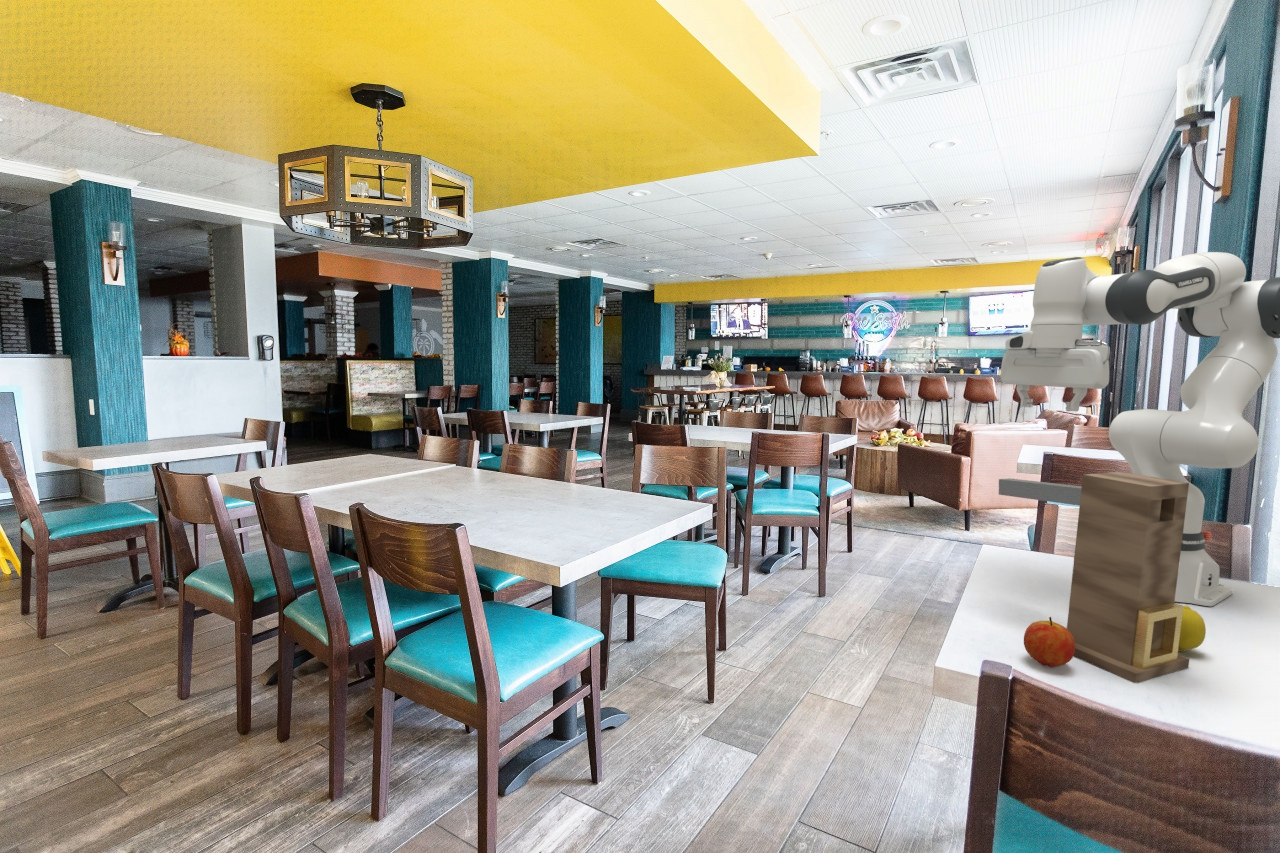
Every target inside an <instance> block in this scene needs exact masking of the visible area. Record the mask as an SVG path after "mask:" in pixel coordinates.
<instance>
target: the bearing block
mask: <svg viewBox="0 0 1280 853" xmlns="http://www.w3.org/2000/svg"><path fill="white" fill-rule="evenodd" d="M1081 481H1082V482H1081V486H1082V488H1081V498H1080V506H1079V509H1078V519H1077V528H1076V536H1075V537H1076V538H1075V547H1074V556H1073V566H1072V573H1071V574H1072V576H1071V585H1070V593H1069V603H1068V604H1069V605H1068V613H1067V623H1066V624H1067V625H1066V629H1068V630H1069V631H1070V633H1071V634H1072V636H1073V638H1074V642H1075V653H1074V656H1073V657H1074V658H1076V659H1079V660H1081V661H1084V662H1085V663H1088V664H1090V665H1092V666H1094V667H1097V668H1099V669H1102V670H1104V671H1106V672H1109V673H1110V674H1112V675H1113V674H1114V675H1116V676H1118V677H1120V678H1122V679H1124V680H1127V681H1129V682H1132V683H1134V684H1137V683H1141V682H1144V681H1147V680H1150V679H1154V678H1157V677H1160V676H1164V675H1168V674H1171V673H1172V674H1173V673H1176V672H1178V671H1181V670H1185V669H1188V668H1189V666H1190V658H1188V657H1185V656H1183V655H1180V654H1178V655H1177V660H1176V661H1172V662H1169V663H1165V664H1161V665H1158V666H1154V667H1151V668H1147V669H1143V670H1142V669H1140V668H1137V667H1135V666H1132V660H1133V651H1134V643H1135V634H1136V626H1137V617H1138V610H1141V609H1146V608H1150V607H1155V606H1160V605H1164V604H1169V603H1175V602H1174V601H1175V593H1176V585H1177V577H1178V569H1179V561H1180V553H1181V545H1182V537H1183V528H1184V520H1185V512H1186V504H1187V496H1188V488H1189V483H1186V482H1180V481H1174V480H1168V479H1162V478H1155V477H1149V476H1143V475H1137V474H1133V473H1130V472H1125V471H1113V472H1100V473H1086V474H1082V480H1081ZM1164 625H1165V619H1164V620H1160V621H1155V622H1154V626H1153V634H1152V642H1151V651H1155V650H1159V649H1162V641H1163V633H1164ZM1151 651H1150V652H1151Z"/></svg>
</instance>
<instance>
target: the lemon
mask: <svg viewBox="0 0 1280 853" xmlns="http://www.w3.org/2000/svg"><path fill="white" fill-rule="evenodd" d="M1183 606H1184V607H1183V615H1182V623H1181V631H1180V639H1179V647H1178V652H1185V651H1187V650H1193V649H1197V648H1198V647H1199V646H1201V645H1202V644H1203V642H1204V641H1205V638H1206V631H1207V629H1206V628H1207V627H1206V623H1205V621H1204V618H1203V617H1202V615H1201V614H1199V613H1198V612H1197V611H1196V610H1194V609H1192V608H1191V607H1190V606H1188V605H1183Z"/></svg>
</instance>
